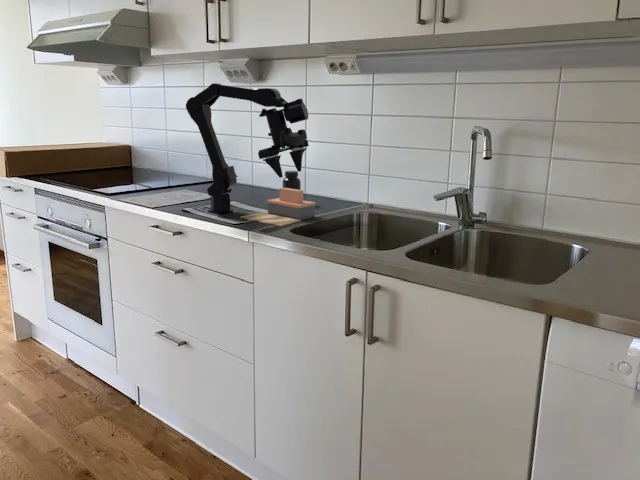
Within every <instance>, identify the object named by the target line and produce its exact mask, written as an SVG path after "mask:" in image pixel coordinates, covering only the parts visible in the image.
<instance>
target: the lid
mask: <svg viewBox="0 0 640 480" xmlns="http://www.w3.org/2000/svg"><path fill="white" fill-rule="evenodd" d="M266 202H267V204H268V203H273V204H279V205H284V206H290V207H295V208H303V207H308V206H312V205H315V206H316V204H317V202H315V201H310V200H304V189H301V190H297V189H291V188H283V187H281V188H279V197H277V198H272V199H267V200H266Z"/></svg>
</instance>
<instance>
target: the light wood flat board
mask: <svg viewBox="0 0 640 480" xmlns="http://www.w3.org/2000/svg"><path fill="white" fill-rule="evenodd" d="M239 217H240V219H243V218H244V220H248V221H253V222H257V221H258V222H259V223H263V224H267V225H273V226H276V225H277V227H284V226H288V225H289V226H290V225H293V224H297V223H300V222H302V220H303V219H302V220H298V219H293V218H287V217H282V216H277V215H272V214H268V212H267V213H266V212H257V213H252V214H247V215H242V216H239Z"/></svg>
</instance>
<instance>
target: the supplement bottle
mask: <svg viewBox="0 0 640 480" xmlns="http://www.w3.org/2000/svg"><path fill="white" fill-rule="evenodd" d="M284 177H285V178H283V180H282V188H291V189H297V190H302V189H301V188H302V187H301V185H302V184H301V180H300V178H299V173H298V170H286V171H285V172H284Z"/></svg>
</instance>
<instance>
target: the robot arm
mask: <svg viewBox="0 0 640 480" xmlns="http://www.w3.org/2000/svg"><path fill="white" fill-rule="evenodd" d="M220 97H224V98H228V99H229V98H230V99H237V100H244V101H249V102H252V103H253V104H257V105H260V106H262V107H266V108H268V107H269V108H270V109H266V108H262V109H261V112H260V113H259V117H260V118H263V117H265V118H266V121H267V124H268V128H269V133H267V136H268V137H271V140H272V144H273V145H271V147H267V148H263V149H258V152H257V154H258V158H259V160H261V159H262V162H265V163H266V164H267V165H268V166H269V167H270V168H271V169H272V170H273V171H274V173H275V174H276V175H277V177H279V179H280V178H283V172H282V167H281V163H280V159H281V156H282V155H280V153H283V152H286V151H289V150H290V151H289V155H290V157H291V160H292V161H293V163H294V166H295V168H296V171H298V172H302V166H303V165H302V164H303V163H302V162H303V154H304V153H305V151H306V150H307V147H310V145H309V142H308V140H307V139H308V136H307V132H306V130H305V129H301V128H300V129H298V131H295V132H293V131H292V129H291V127H288V125H287V122H289V124H295V123H299V122H303V121H307V120H308V119H309V112H308V108H307V107H306V104H305V102H304V100H303V98H297V99H294V100H293V101H289V102H288V101H287V100H285V98H283V97H282V95H281V93H280V92H279V90H278V89H277V88H268V87H267V88H266V87H264V88H263V87H262V88H246V87H239V86H233V85H232V86H231V85H227V84H226V85H225V84H221V83H217V82H216V83H211V84H209V86H207V88H205V89H204V90H203V89H202V91H200V92H199V93H198V94H196V95H195V96H192V97H190V98H188V99H187V101H186V103H185V109H186V111H187V114H189V116H190V118H191V120H192V121H193V122H194V124H196V126H197V127H198V130H199V132H200V136H201V138H202V142H203V143H204V147H205V149H206V153H207V154H208V155H207V156H208V158H209V160H210V163H211V167H212V171H211V172H212V173H211V176H212V177H211V178H212V182H213V183H212V184H211V185H210V186H209V187H208V188H207V190H206V192H207V195H208V196H209V197H210V209H207V212H208V213H212V214H213V213H214V214H217V215H221V214H222V215H223V214H227V213H232V212H234V209H231V199H230V197H231V195H230V193H232V190H233V188H234V187H236V184H237V178H238V175H237V173H236V171H235V167H234V165H230V166H229V165H228V163H227V162H226V159H225V157H224V154H223V151H222V149H221V146H220V142H219V140H218V138H217V135H216V132H215V129H214V126H213V123H212V109H211V107H212V106H213V105H214V104H215V103H217V101H218V99H219V98H220ZM277 108H282V109H277Z"/></svg>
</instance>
